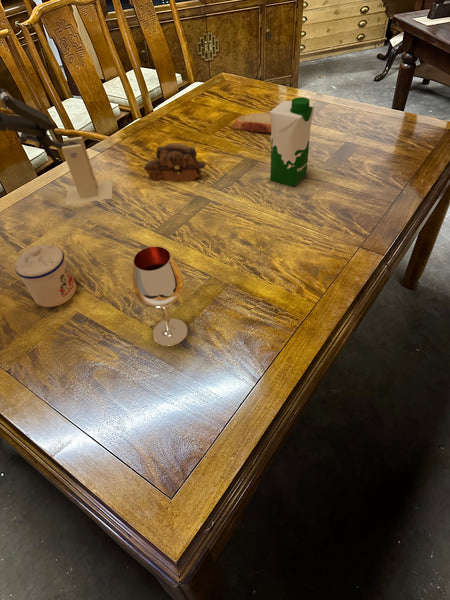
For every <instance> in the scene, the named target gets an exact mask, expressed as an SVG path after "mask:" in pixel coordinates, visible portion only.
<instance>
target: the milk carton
mask: <svg viewBox="0 0 450 600" xmlns="http://www.w3.org/2000/svg"><path fill="white" fill-rule="evenodd" d="M310 102H311V101H310V99H309V98H307V97H305V96H304V97H303V96H302V97H301V96H299V97H294V98H293V99H292V100H286V99H284V100H283V101H282V102H280V103H279V104H278V105H277V106H275V107H274V108H273V109H271V110H270V111H269V112H270V118H271V133H270V140H271V141H270V172H269V173H270V176H269V177H270V178H269V180H270V181H272V182H275V183H278V184H282V185H285V186H289V187H292V188H295V187H296V186H297V185H298V184H299V183H300V182H301V181H302V180H303V179H304V178H305V177H306V176H307V174H308V172H307V171H308V163H309V150H310V138H311V127H312V122H313V116H314V111H315V105H313V104H310Z"/></svg>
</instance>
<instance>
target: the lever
mask: <svg viewBox="0 0 450 600" xmlns="http://www.w3.org/2000/svg"><path fill="white" fill-rule="evenodd" d="M28 140H29V141H33V142H36V143H39V144H40V142H39V141H38V139H37V138H36V136H34V135H29V134H24V133H20V136H19V142H20V143H22V144H25V143H27V141H28ZM51 140H52V142H53V145H52V146H51V147H54V148H58V149H61V150H62V147H64V146H71V145H78V144H77V143H74V142H69V145H67V144H64V142H60V141H57V140H53V139H51Z"/></svg>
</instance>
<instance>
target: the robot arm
mask: <svg viewBox="0 0 450 600" xmlns="http://www.w3.org/2000/svg"><path fill="white" fill-rule="evenodd" d="M0 109H4V110H5V111H7V112H10V111H11V112H12V113H14V114H15V115H17V116H15V115H11V114H7V113H3V112H2V111H1V110H0V131H1V132H7V131H10V132H14V133H20V134H21V133H24V134H29V135H34V136H36V138H37V139H38V141H39V142H40V143H39V142H38V143H39V144H40V145H41V147H42V148H43V150H44V151H45V152H46V153H47V155H48V156H49V158H50V159H51V161H52V162H53V163H56V162H58V159H57V157H56V155H55V154H54V152H53V150H52V148H51V147H53V146H52V145H53V142H52V140H53V139H51V137H50V135H49V134H48V131H51V130H53V129H55V125H54V124H53V122H52V120H51V118H50V117H49V115H48V114H46V113H45V112H43V111H40V110H39V109H36V108H35V107H33V106H31V105H29V104H27V103H25V102H24V101H21V100H19V99H18V98H16V97H13V96H12V94H10V92H9V91H8V90H7V89H6V88H0Z"/></svg>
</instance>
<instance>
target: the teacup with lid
mask: <svg viewBox="0 0 450 600" xmlns="http://www.w3.org/2000/svg"><path fill="white" fill-rule="evenodd" d="M14 271H15V273H16V274H17V276H19V277H20V278H21V281H22V282H23V284H24V286H25V287H26V289H27V291H28V292H29V294H30V297H32V299H33V301H34V303H36V304H37V305H38V306H40V307H43V308H55V307H58V306H61V305H63V304H65V303H67V302H68V301H69V300H71V299H72V297H73V296H74V295H75V293H76V291H77V283H76V281H75V279H74V276H73V274H72V272H71V270H70V268H69V265H68V263H67V261H66V259H65V254H64V251H63V250H62V249H61V248H59V247H58V246H56V245H53V244H38V245H33V246H30V247H29V249H28V248H27V249H26V250H25V251H23V252H21V254H20V255H19V256H18V257H17V259H16V261H15V263H14Z"/></svg>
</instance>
